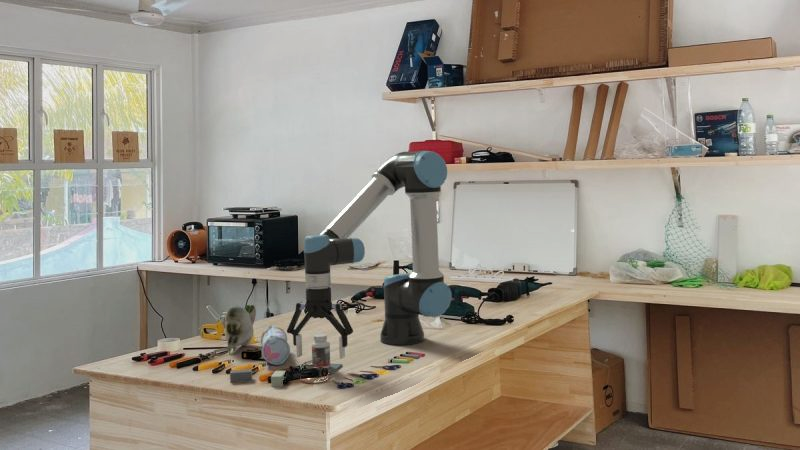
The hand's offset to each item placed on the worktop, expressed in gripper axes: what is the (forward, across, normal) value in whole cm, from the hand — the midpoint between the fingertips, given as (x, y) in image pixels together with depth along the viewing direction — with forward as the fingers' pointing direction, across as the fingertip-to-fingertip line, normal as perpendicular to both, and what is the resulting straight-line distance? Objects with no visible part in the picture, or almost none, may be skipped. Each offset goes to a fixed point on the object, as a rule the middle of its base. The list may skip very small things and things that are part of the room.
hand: (320, 356), depth 244 cm
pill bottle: (+3, 0, 0) cm, 3 cm away
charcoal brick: (+4, -19, -15) cm, 25 cm away
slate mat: (+4, 0, 0) cm, 4 cm away
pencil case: (+4, -19, +11) cm, 23 cm away
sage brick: (+4, -7, -16) cm, 18 cm away
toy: (+4, -37, +24) cm, 44 cm away
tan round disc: (+4, +2, -11) cm, 12 cm away
